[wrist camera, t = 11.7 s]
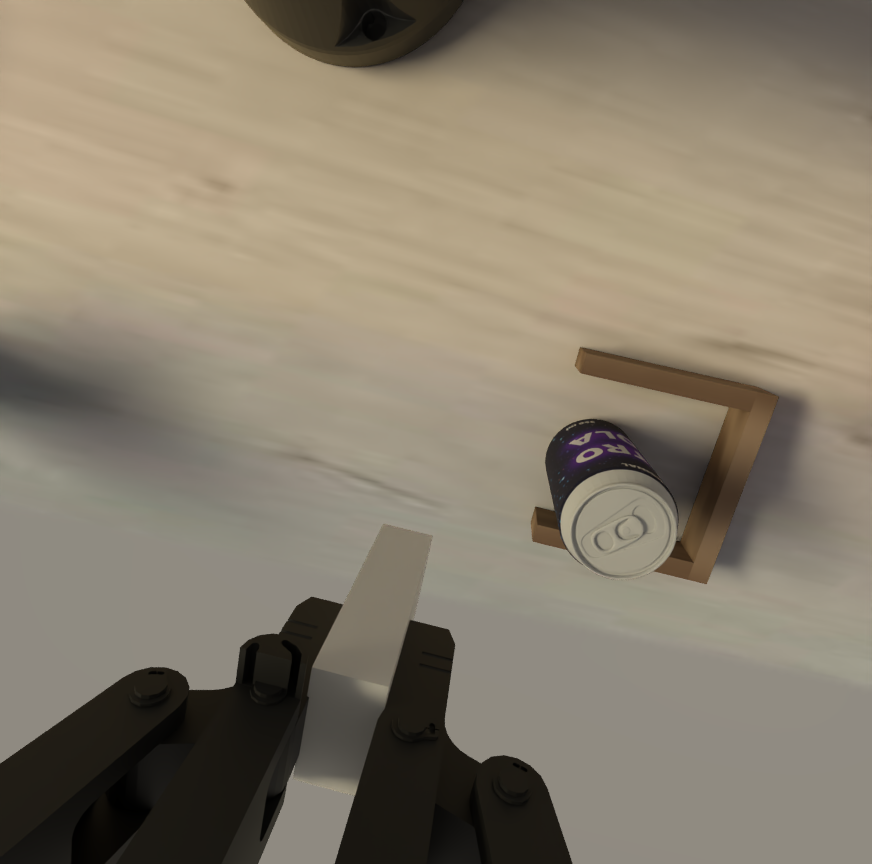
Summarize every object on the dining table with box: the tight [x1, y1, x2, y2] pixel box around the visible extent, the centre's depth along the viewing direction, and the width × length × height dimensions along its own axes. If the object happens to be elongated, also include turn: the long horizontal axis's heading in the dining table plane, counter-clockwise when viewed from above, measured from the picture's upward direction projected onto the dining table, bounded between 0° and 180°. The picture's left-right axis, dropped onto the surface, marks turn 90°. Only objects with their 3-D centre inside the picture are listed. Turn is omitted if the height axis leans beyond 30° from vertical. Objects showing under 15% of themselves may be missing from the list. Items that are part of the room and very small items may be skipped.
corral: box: [531, 347, 779, 584], centre depth 37 cm, size 12×11×3 cm
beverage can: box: [545, 419, 678, 580], centre depth 33 cm, size 6×6×12 cm
